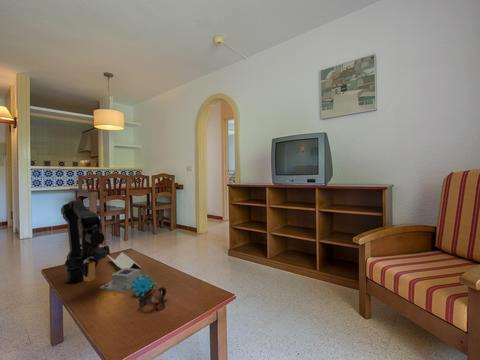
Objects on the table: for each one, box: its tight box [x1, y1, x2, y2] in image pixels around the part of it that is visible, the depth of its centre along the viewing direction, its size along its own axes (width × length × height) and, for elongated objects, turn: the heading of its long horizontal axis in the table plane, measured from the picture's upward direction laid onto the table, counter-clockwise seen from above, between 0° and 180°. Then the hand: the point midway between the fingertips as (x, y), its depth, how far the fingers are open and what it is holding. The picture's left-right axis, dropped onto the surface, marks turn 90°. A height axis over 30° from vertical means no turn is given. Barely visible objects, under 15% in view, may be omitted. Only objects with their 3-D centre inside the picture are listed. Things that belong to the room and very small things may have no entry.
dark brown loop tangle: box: [138, 286, 167, 312], centre depth 100 cm, size 12×10×8 cm
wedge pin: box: [83, 260, 96, 282], centre depth 111 cm, size 3×3×8 cm
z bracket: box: [106, 251, 142, 270], centre depth 146 cm, size 12×25×6 cm
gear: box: [131, 274, 157, 297], centre depth 112 cm, size 11×6×10 cm
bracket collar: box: [99, 267, 150, 294], centre depth 122 cm, size 14×18×6 cm
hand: (89, 275), depth 111 cm, fingers closed on wedge pin, 3 cm apart
